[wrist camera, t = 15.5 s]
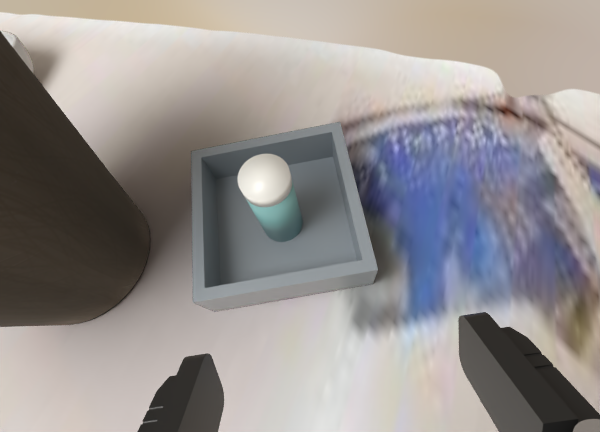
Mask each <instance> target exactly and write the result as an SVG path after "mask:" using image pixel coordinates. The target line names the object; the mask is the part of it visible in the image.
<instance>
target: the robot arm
mask: <svg viewBox="0 0 600 432" xmlns="http://www.w3.org/2000/svg"><path fill="white" fill-rule="evenodd" d="M459 356H460V361H461V365H462V368H463V370H464V373H465V375H466V376H467V378H468V380H469V382H470V383H471V385H472V387H473V388H474V390H475V392H476V393H477V395H478V397H479V398H480V400H481V402H482V404H483V405H484V407H485V409H486V410H487V412H488V414H489V415H490V417H491V419H492V420H493V422H494V424H495V425H496V427H497V429H498V431H499V432H600V414H599V413H598V412H597V411H596V410H595V409H594V408H593V407H592V406H591V405H590V404H589V403H588V402H587V401H586V399H585V398H584V397H583V396H582V395H581V394H580V393H579V392H578V391H577V390H576V389H575V388H574V387H573V386H572V385H571V383H570V382H569V381H568V380H567V379H566V378H565V377H564V376H563V375H562V374H561V373H560V372H559V371H558V370H557V368H556V367H555V368H554V367H553V364H552V363H551V362H550V361H549V360H548V359H547V358H546V357H545V356H544V355H542V354H541V351H540V350H539V349H538V348H537V347H536V346H535V345H534V344H533V343H532V342H531V341H530V340H529V339H528V338H527V337H526V336H524V335H522V334H521V333H519V332H517V331H516V330H514V329H512V328H511V327H505V328H500V327H499V326H498V324H497V323H496V322H495V321H494V320H493V319H492V318H491V316H490V315H489V314H488V313H486V312H483V313H476V314H470V315H463V316H460V317H459ZM223 407H224V393H223V388H222V385H221V382H220V379H219V376H218V373H217V370H216V368H215V365H214V362H213V359H212V357H211V355H210V354H201V355H195V356H188V357H185V358H184V359H183V361H182V364H181V366H180V368H179V371H178V373H177V375H176V376H170V377H169V378H168V379H167V380H166V381H165V382H164V383H163V385H162V386H161V387H160V388H159V389H158V390H157V392H156V394H155V396H154V398H153V400H152V402H151V405H150V407H149V411H147V413H146V415H145V417H144V419H143V424H142V425H141V426H140V428H139V430H138V432H218V429H219V424H220V420H221V416H222V412H223Z"/></svg>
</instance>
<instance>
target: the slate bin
mask: <svg viewBox="0 0 600 432" xmlns="http://www.w3.org/2000/svg"><path fill="white" fill-rule="evenodd" d="M260 154H274V155H277V156H279V157H281V158H282V159H283V160H284V161H285V162H286V163H287V165H288V167H289V170H290V174H291V177H292V181H293V185H294V189H295V193H296V197H297V200H298V204H299V208H300V212H301V216H302V220H303V225H302V229H301V231H300V232H299V234H298V235H297V236H296V237H295V238H293V239H292V240H289V241H286V242H277V241H274V240H272V239H270V238H269V237H268V236H267V235H266V233H265V232H264V230H263V228H262V226H261V225H260V223H259V221H258V219H257V218H256V216H255V214H254V212H253V211H252V209H251V207H250V205H249V204H248V202H247V200H246V198H245V197H244V195H243V193H242V192H241V190H240V188H239V186H238V179H237V178H238V173H239V170H240V168H241V167H242V165H243V164H244V163H245V162H246V161H247V160H249V159H250V158H252V157H254V156H256V155H260ZM191 177H192V274H193V303H195V304H197V305H200V306H202V307H204V308H207V309H209V310H212V311H214V312H216V311H222V310H227V309H233V308H239V307H245V306H250V305H256V304H262V303H267V302H273V301H279V300H285V299H290V298H296V297H302V296H307V295H313V294H319V293H325V292H330V291H336V290H342V289H347V288H353V287H359V286H365V285H370V284H373V282H374V279H375V277H376V274H377V271H378V267H377V264H376V260H375V256H374V252H373V248H372V244H371V240H370V236H369V232H368V229H367V225H366V221H365V217H364V213H363V209H362V205H361V201H360V197H359V194H358V190H357V186H356V182H355V178H354V174H353V170H352V166H351V162H350V159H349V155H348V151H347V147H346V143H345V139H344V135H343V131H342V127H341V124H340V122H337V123H331V124H326V125H321V126H316V127H311V128H306V129H301V130H296V131H291V132H286V133H281V134H276V135H271V136H266V137H261V138H255V139H250V140H245V141H240V142H235V143H230V144H225V145H220V146H215V147H210V148H205V149H200V150H195V151H191Z"/></svg>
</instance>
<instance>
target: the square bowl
mask: <svg viewBox="0 0 600 432" xmlns="http://www.w3.org/2000/svg"><path fill="white" fill-rule="evenodd" d="M1 32H2V34H3V35H4V36H5V38H6V39H7V40H8V42H9V43H10V44H11V45H12V47H13V48H14V49H15V51H16V52H17V53H18V55H19V56H20V57H21V58H22V60H23V61H24V62H25V64H26V65H27V66H28V67H29V69H30V70H31V71H32V73H33V72H34V69H33V63H32V60H31V58H30V55H29V53H28V51H27V50H26V48H25V47H24V45H23V44H22V43H21V41H20V40H19V39H18V38H17V37H16V36H15V35H14V34H12V33H9V32H6V31H1Z"/></svg>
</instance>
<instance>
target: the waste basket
mask: <svg viewBox="0 0 600 432" xmlns="http://www.w3.org/2000/svg"><path fill="white" fill-rule="evenodd" d="M149 248H150V234H149V228H148V225H147V222H146V220H145V218H144V216H143V214H142V213H141V212H140V210H139V209H138V208H137V207H136V205H135V204H134V203H133V201H132V200H131V199H130V198H129V196H128V195H127V194H126V192H125V191H124V190H123V189H122V187H121V186H120V185H119V184H118V182H117V181H116V180H115V178H114V177H113V176H112V175H111V173H110V172H109V171H108V170H107V168H106V167H105V166H104V164H103V163H102V162H101V161H100V159H99V158H98V157H97V155H96V154H95V153H94V152H93V150H92V149H91V148H90V146H89V145H88V144H87V143H86V141H85V140H84V139H83V137H82V136H81V135H80V133H79V132H78V131H77V130H76V128H75V127H74V126H73V124H72V123H71V122H70V121H69V119H68V118H67V117H66V115H65V114H64V113H63V112H62V110H61V109H60V108H59V106H58V105H57V104H56V102H55V101H54V100H53V99H52V97H51V96H50V95H49V93H48V92H47V91H46V90H45V88H44V87H43V86H42V84H41V83H40V82H39V80H38V79H37V78H36V77H35V75H34V74H33V73H32V71H31V70H30V69H29V67H28V66H27V65H26V64H25V62H24V61H23V60H22V58H21V57H20V56H19V55H18V53H17V52H16V51H15V49H14V48H13V47H12V45H11V44H10V43H9V42H8V40H7V39H6V38H5V36H4V35H3V34H2V32H1V31H0V327H10V326H45V325H71V324H77V323H82V322H86V321H89V320H91V319H94V318H96V317H98V316H100V315H101V314H103V313H105V312H106V311H108V310H109V309H111V308H112V307H114V306H115V305H116V304H117V303H118V302H120V301H121V300H122V299H123V298H124V297H125V296H126V295H127V294H128V293H129V291H130V290H131V289H132V288H133V286H134V285H135V283H136V282H137V281H138V279H139V277H140V275H141V273H142V271H143V269H144V267H145V264H146V261H147V258H148V254H149Z"/></svg>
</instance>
